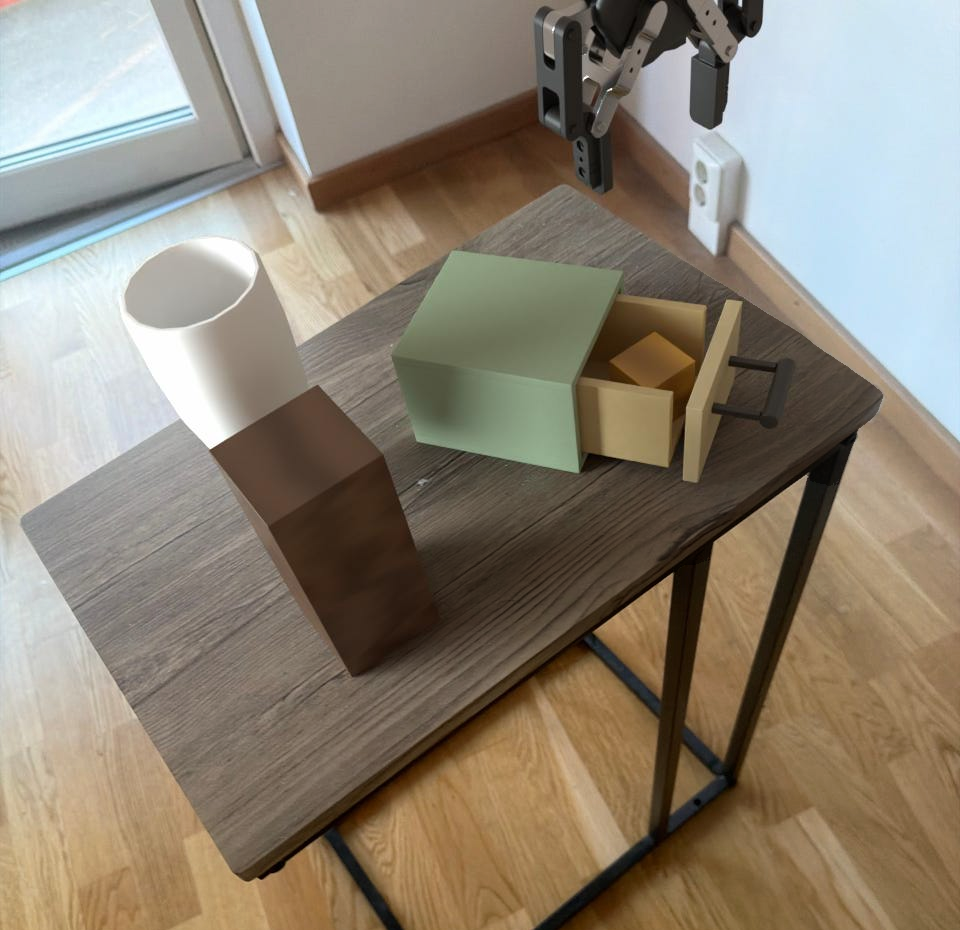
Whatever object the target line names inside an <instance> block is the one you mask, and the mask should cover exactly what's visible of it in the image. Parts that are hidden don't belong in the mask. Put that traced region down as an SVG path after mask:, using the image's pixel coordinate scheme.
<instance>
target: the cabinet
mask: <svg viewBox="0 0 960 930" xmlns="http://www.w3.org/2000/svg"><path fill="white" fill-rule="evenodd" d="M624 273H625V272H624V270H617V269H608V268H601V267H594V266H585V265H577V264H570V263H561V262H552V261H545V260H536V259H529V258H520V257H511V256H504V255H497V254H490V253H489V254H486V253H482V252H481V253H480V252H471V251H465V250H464V251H463V250H456V249H452V251H451V252H450V254H449V256H448V258H447V259H446V261H445V263H444V264H443V266H442V268H441V269H440V271H439V273H438V274H437V276H436V278H435V280H434V282H433V283H432V285H431V286H430V288H429V289H428V292H427V293H426V295H425V296H424V298H423V300H422V302H421V303H420V305H419V307H418V308H417V310H416V312H415V314H414V315H413V316H412V319H411V320H410V322H409V324H408V325H407V327H406V329H405V331H404V333H403V334H402V336H401V337H400V339H399V340H398V342H397V345H396V346H395V348H394V349H393V351H392V353H391V354H390V357H391V361H392V363H393V367H394V371H395V374H396V377H397V381H398V385H399V387H400V390H401V393H402V398H403V400H404V404H405V407H406V410H407V413H408V417H409V420H410V423H411V427H412V431H413V433H414V436H415V437H414V438H415V440H416V442H417V443H422V444H427V445H432V446H437V447H442V448H446V449H452V450H458V451H463V452H466V453H472V454H477V455H482V456H488V457H493V458H496V459H497V458H499V459H502V460H507V461H513V462H519V463H523V464H529V465H534V466H539V467H544V468H549V469H554V470H558V471H563V472H569V473H574V474H580V473H581V471H582V469H583V468H584V464H585V462H586V459H587V457H588V455H589V453H588V452H583V451H581V443H580V431H579V420H578V408H577V397H576V383H577V381H578V379H579V377H580V375H581V372H582V370H583V368H584V366H585V364H586V361H587V359H588V357H589V355H590V353H591V350H592V348H593V346H594V344H595V342H596V339H597V337H598V335H599V333H600V331H601V328H602V326H603V324H604V322H605V320H606V317H607V315H608V313H609V311H610V309H611V306H612V304H613V302H614V300H615V298H616V295H617V294H623V295H625V274H624Z"/></svg>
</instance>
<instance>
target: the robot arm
mask: <svg viewBox="0 0 960 930" xmlns="http://www.w3.org/2000/svg"><path fill="white" fill-rule="evenodd" d="M739 1H740V0H717V2H716V1H715V0H580V1H577V2H575V3H574V4H571V5H568V6H567V7H564V8H562V9H560V10H556V9H554V8H552V7H550V6H548V5H543V6H541V7H540V8H538V10H537V11H536V13H535V15H534V18H533V32H534V34H533V35H534V48H535V50H534V52H535V53H534V54H535V68H536V70H535V71H536V87H537V88H536V89H537V105H538V107H537V108H538V120H539V122H540V124H541V125H543V126H544V127H545V128H547V129H550V131H552V132H554V133H555V134H556V135H558V136H560V137H562V138H563V139H565V140H567V141H569V142H572V149H573V150H572V151H573V162H574V175H575V176H576V178H577V180H578V181H579V182H581V183H583V184H584V185H585V186H586V187H587V188H589V189H591V190H592V191H593V192H595V193H597V194H598V195H601V196H603V195H604V194H607V193H608V192H609V191H611V190H613V188H614V168H613V146H612V145H613V144H612V143H613V141H612V131H611V130H609V128H610V125H611V122H612V120H613V119H614V118H613V117H614V115H615V113H616V110H617V109H618V105H619V103H620V101H621V99H622V98H623V97H626V96H628V95H629V94H630V93H631V91H632V90H633V88H634V85H635V83H636V80H637V78H638V76H639V73H640V70H641V69H644V68H645V67H648V66H649V65H650V64H652V63H654V62H656V60H658V58H659V57H660V56H661V55H663V54H664V53H665V52H669V51H674V50H676V49H679V48H680V47H682V46H684V45H686V44H687V39H688V41H689V42H690V43H691V45H692V46H693V47H694V48H695V50H698V53H696V54H694V55H692V56H691V58H690V81H689V84H690V85H689V110H688V111H689V118H690V119H691V121H692V122H694V123H695V124H697V125H699V126H701V127H703V128H705V129H706V130H709V131H711V130H713V129H715V128H717V127H719V126H720V125H722V123H723V119H724V112H726V108H727V105H728V99H729V93H728V92H729V83H730V70H731V62H732V61H733V59H734V58H735V57H736V55H737V52H738V49H739V45H740V43H741V42H742V41H743V40H745V38H746V37H747V38H749V39H752V38H755V37H756V36H757V35H758V34H759V32H760V31H761V29H762V26H763V21H764V5H765V4H764V3H765V0H741V5H739V4H740V2H739ZM606 51H608V52H609V53H610V55H612V56H613V57H614V58H615V59H618V60H619V61H618V62H617V65H616V67H615V68H614V69H613V70H610V69H608V68H607V67H605V65H604V56H605V53H606ZM599 86H600V91H599V94H598V95H597V99H596V101H595V103H594V106H592V105H591V104H592V102H593V99H594V97H595V95H596V92H597V90H598V87H599Z"/></svg>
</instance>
